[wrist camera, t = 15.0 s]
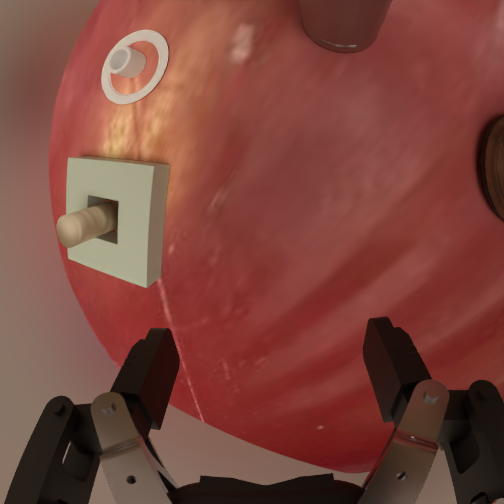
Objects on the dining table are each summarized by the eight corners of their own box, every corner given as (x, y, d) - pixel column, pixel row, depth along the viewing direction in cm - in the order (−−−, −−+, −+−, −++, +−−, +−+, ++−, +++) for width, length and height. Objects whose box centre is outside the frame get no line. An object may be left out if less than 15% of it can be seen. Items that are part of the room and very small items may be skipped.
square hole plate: (86, 156, 37) (68, 157, 34) (170, 164, 35) (154, 166, 31) (84, 251, 43) (68, 258, 39) (161, 276, 40) (146, 287, 37)
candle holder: (112, 118, 35) (92, 116, 31) (99, 57, 32) (82, 52, 28) (179, 80, 31) (163, 72, 27) (161, 18, 29) (146, 7, 25)
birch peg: (110, 197, 38) (56, 213, 28) (130, 201, 38) (76, 218, 28) (109, 223, 40) (57, 244, 30) (129, 228, 39) (77, 251, 29)
